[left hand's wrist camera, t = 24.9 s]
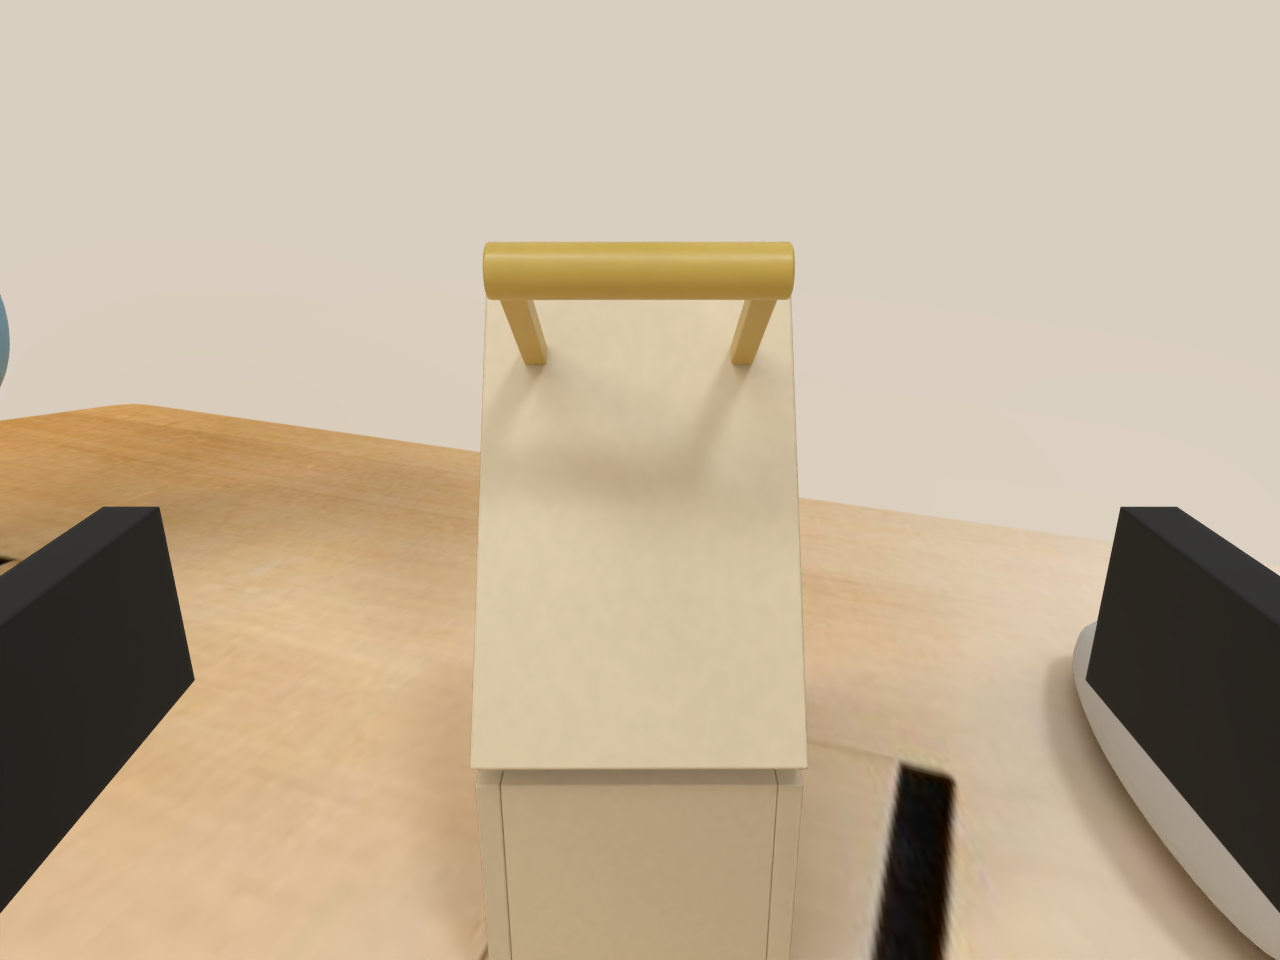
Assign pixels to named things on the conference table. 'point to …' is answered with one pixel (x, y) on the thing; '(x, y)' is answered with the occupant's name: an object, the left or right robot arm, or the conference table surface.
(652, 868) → the chest
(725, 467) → the lid
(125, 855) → the conference table surface
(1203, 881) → the projector
